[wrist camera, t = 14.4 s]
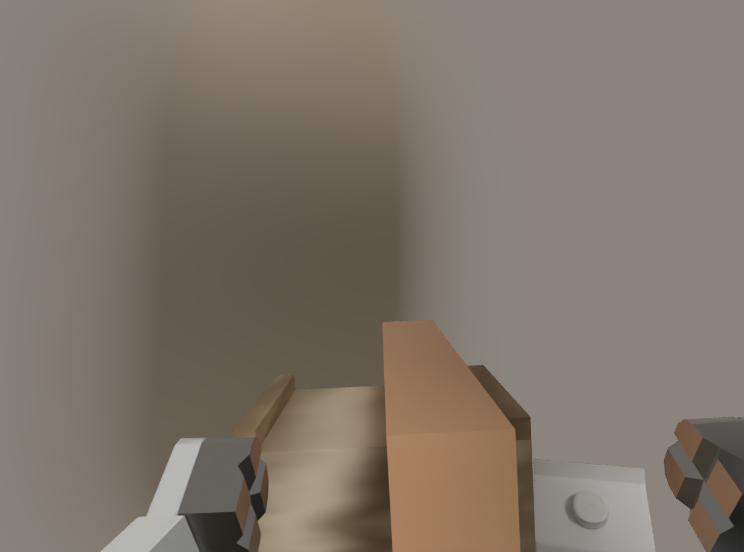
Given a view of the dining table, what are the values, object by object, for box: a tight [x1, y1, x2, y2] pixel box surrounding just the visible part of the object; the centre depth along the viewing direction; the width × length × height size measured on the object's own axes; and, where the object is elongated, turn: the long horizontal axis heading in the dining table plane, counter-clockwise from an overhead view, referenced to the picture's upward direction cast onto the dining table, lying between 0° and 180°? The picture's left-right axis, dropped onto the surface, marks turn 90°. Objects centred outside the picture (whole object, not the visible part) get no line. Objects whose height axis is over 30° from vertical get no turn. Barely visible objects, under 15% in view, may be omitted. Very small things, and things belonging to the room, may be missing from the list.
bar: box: [383, 320, 520, 552], centre depth 25 cm, size 4×22×4 cm, turn 179°
